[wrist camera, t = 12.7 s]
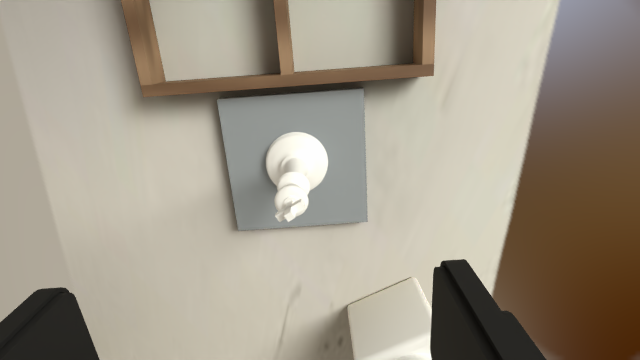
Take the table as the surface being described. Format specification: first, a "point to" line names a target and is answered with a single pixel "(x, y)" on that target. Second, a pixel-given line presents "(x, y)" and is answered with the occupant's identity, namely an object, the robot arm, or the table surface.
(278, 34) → the bay frame
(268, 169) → the chess piece
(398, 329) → the medicine bottle
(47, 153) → the table surface
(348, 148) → the pad
